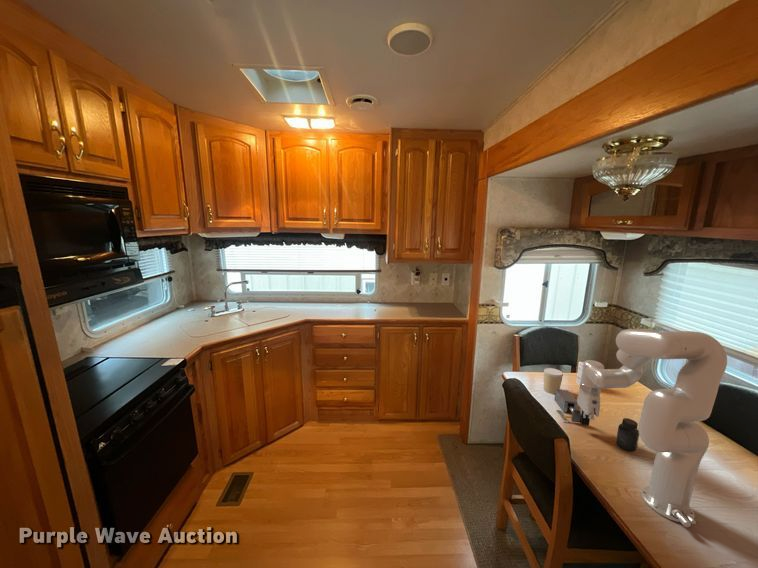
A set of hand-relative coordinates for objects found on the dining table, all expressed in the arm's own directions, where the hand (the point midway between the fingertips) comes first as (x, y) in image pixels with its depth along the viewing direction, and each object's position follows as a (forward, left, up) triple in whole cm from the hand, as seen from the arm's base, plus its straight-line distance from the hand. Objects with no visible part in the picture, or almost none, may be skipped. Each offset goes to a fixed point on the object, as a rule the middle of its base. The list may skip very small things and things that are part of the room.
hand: (584, 424), depth 131 cm
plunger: (+11, +2, -3) cm, 11 cm away
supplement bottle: (-7, -13, -4) cm, 16 cm away
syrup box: (+44, -20, -4) cm, 48 cm away
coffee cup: (+35, +1, -4) cm, 35 cm away
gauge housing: (+15, +2, -4) cm, 15 cm away
